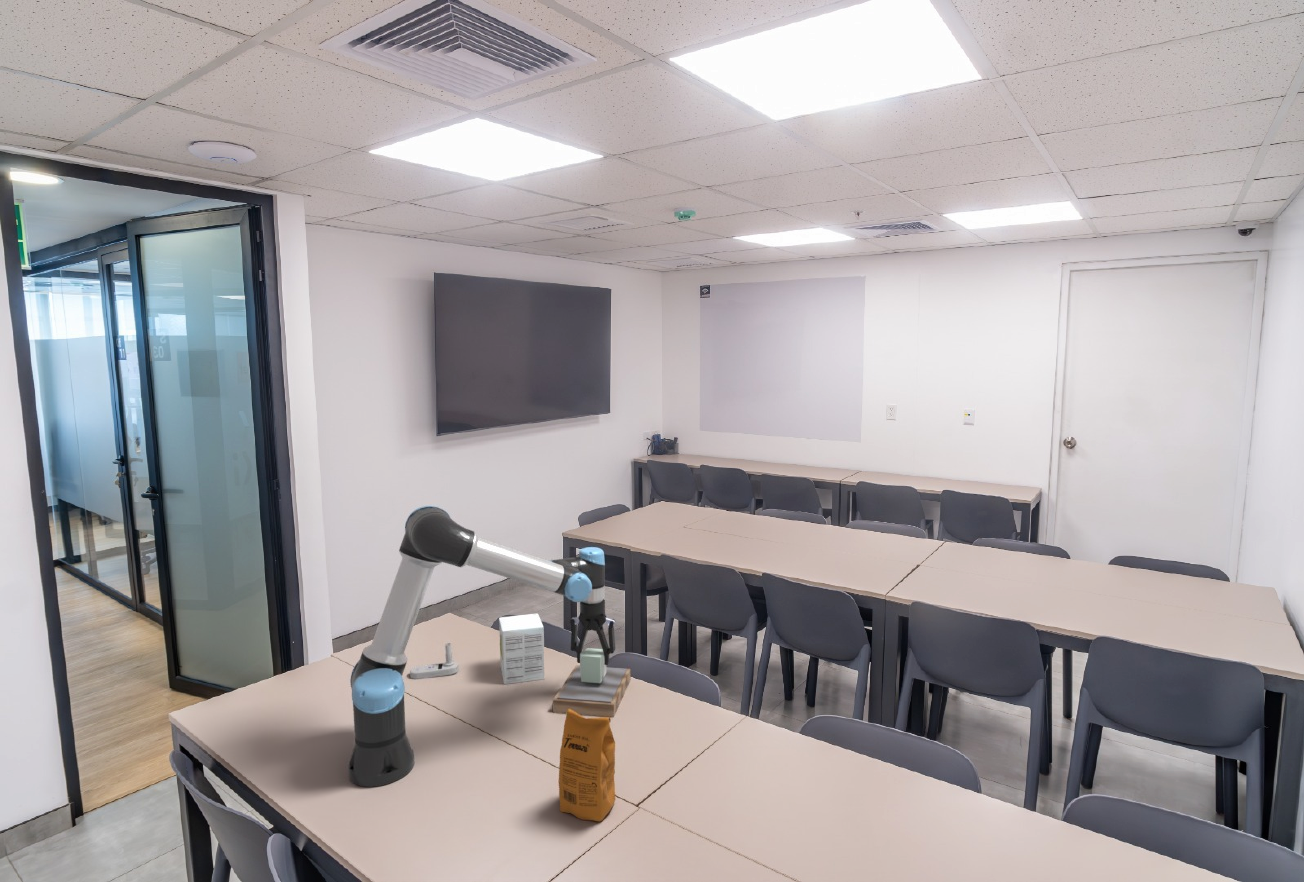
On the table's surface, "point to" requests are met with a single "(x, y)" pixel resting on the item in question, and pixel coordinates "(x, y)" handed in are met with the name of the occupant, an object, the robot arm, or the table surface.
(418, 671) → the electronic device
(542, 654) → the supplement box
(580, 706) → the base
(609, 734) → the coffee package
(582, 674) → the sage block
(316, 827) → the table surface
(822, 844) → the table surface
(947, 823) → the table surface
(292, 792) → the table surface
